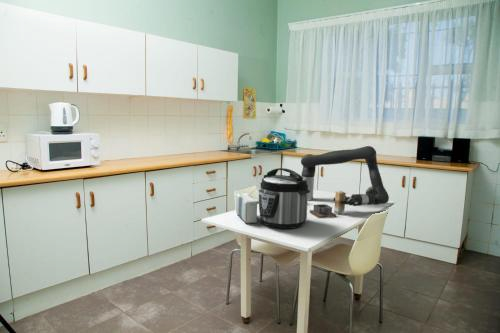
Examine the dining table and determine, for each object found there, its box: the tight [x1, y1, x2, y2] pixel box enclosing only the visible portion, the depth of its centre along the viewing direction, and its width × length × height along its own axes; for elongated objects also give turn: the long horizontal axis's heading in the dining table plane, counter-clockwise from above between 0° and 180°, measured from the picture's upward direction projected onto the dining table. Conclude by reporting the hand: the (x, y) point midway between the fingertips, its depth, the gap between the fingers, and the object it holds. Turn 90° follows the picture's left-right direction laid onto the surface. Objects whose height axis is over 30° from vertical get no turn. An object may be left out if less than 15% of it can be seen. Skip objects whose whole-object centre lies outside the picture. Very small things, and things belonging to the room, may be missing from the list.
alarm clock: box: [365, 185, 378, 195], centre depth 257 cm, size 11×5×16 cm, turn 84°
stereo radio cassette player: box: [235, 189, 259, 224], centre depth 210 cm, size 21×8×20 cm, turn 17°
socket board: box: [309, 203, 337, 219], centre depth 224 cm, size 12×12×6 cm
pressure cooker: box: [258, 167, 310, 229], centre depth 203 cm, size 30×28×32 cm
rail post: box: [333, 190, 347, 216], centre depth 227 cm, size 4×4×14 cm
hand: (337, 200), depth 226 cm, fingers open, 8 cm apart
